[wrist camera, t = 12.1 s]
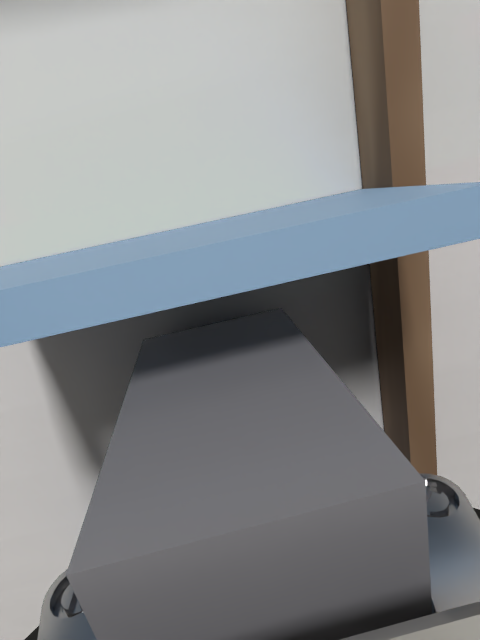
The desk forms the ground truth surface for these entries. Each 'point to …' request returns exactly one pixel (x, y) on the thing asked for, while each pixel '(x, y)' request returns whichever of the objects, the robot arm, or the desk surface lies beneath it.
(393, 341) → the brown l-shaped bracket
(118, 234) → the desk surface
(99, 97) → the desk surface
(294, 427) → the charcoal plug
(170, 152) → the desk surface
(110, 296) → the pair of blue brackets
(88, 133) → the desk surface
